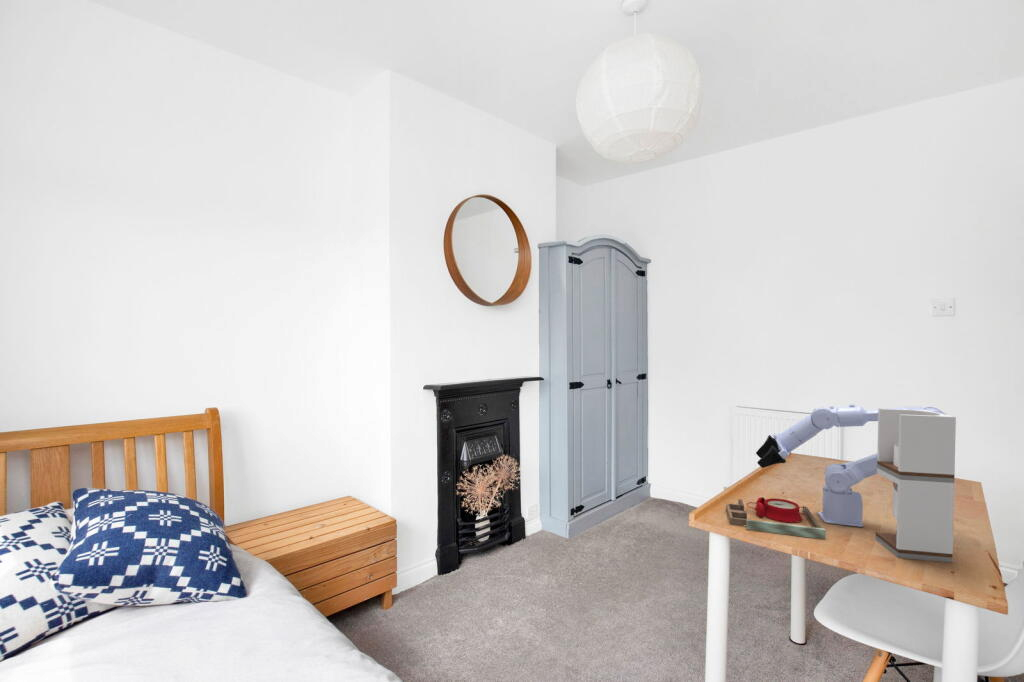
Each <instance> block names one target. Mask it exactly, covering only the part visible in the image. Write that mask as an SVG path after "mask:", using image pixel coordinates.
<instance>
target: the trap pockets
mask: <svg viewBox="0 0 1024 682" xmlns="http://www.w3.org/2000/svg"><path fill="white" fill-rule="evenodd" d="M725 505H726V506H725V510H726V514H727V517H729V518H728V522H729V521H730V522H729V524H730V525H733V524H735V525H734V526H741V525H746V519H743V511H741V510H740V508H741V505H738V503H737V504H735V503H728V502H727V503H725Z"/></svg>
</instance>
